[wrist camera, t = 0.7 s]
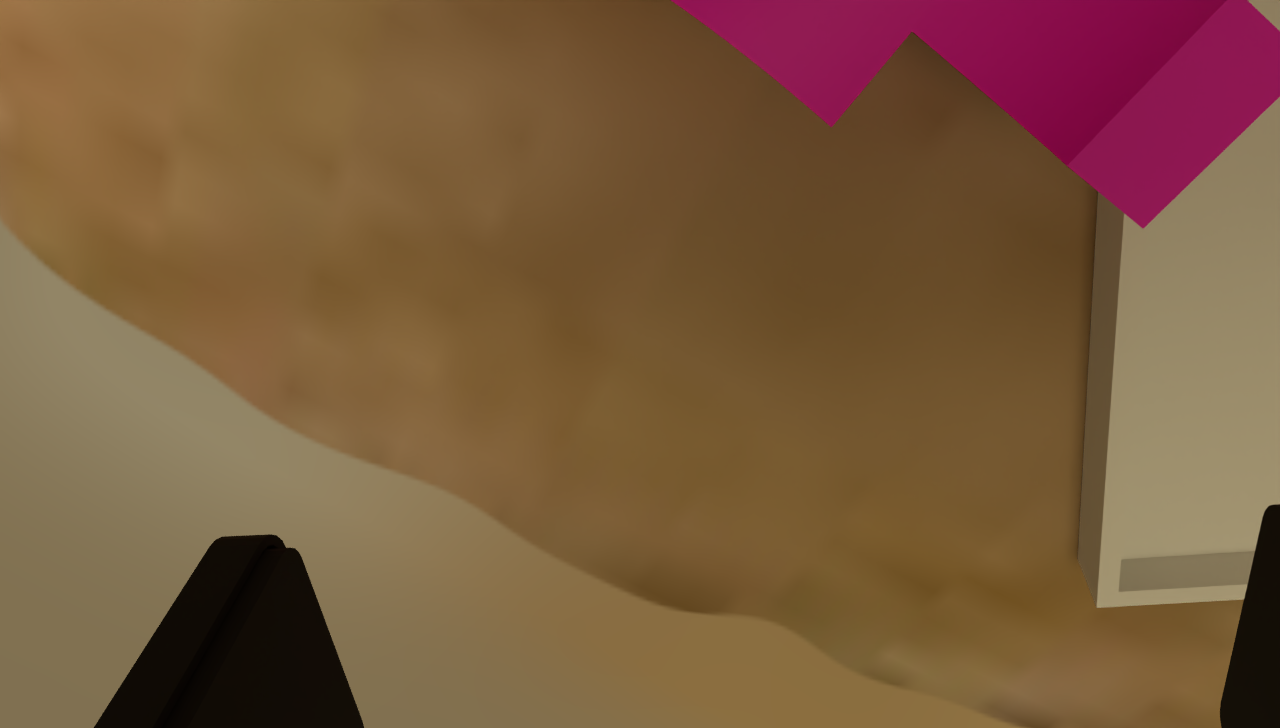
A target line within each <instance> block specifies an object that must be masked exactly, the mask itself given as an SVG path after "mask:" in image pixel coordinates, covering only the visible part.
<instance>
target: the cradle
mask: <svg viewBox="0 0 1280 728" xmlns="http://www.w3.org/2000/svg"><path fill="white" fill-rule="evenodd" d="M1248 1H1249V2H1250V3H1251V4H1252V5H1253V6H1254V7H1255V8H1256V9H1257V10H1258V11H1259V12H1260V13H1261V14H1262V15H1263V16H1264V17H1265V18H1267V19H1268V20H1269V21H1270V22H1271V23H1272V24H1273V25H1274V26H1275V27H1276V28H1277V29H1278V30H1279V31H1280V0H1248ZM1274 504H1280V97H1279V98H1278V99H1277V100H1276V101H1275V102H1274V103H1273V104H1272V105H1271V106H1270V107H1269V108H1267V109H1266V110H1265V111H1264V112H1263V113H1262V114H1261V115H1260V116H1259V117H1258V118H1257V119H1256V120H1255V121H1254V122H1253V123H1252V124H1251V125H1250V126H1249V127H1248V128H1247V129H1246V130H1245V131H1244V132H1243V133H1242V134H1241V135H1240V136H1239V137H1238V138H1237V139H1235V140H1234V141H1233V142H1232V143H1231V144H1230V145H1229V146H1228V147H1227V148H1226V149H1225V150H1224V151H1223V152H1222V153H1221V154H1220V155H1219V156H1218V157H1217V158H1216V159H1215V160H1214V161H1213V162H1212V163H1211V164H1210V165H1209V166H1208V167H1207V168H1206V169H1205V170H1204V171H1202V172H1201V173H1200V174H1199V175H1198V176H1197V177H1196V178H1195V179H1194V180H1193V181H1192V182H1191V183H1190V184H1189V185H1188V186H1187V187H1186V188H1185V189H1184V190H1183V191H1182V192H1181V193H1180V194H1179V195H1178V196H1177V197H1176V198H1175V199H1174V200H1173V201H1172V202H1170V203H1169V204H1168V205H1167V206H1166V207H1165V208H1164V209H1163V210H1162V211H1161V212H1160V213H1159V214H1158V215H1157V216H1156V217H1155V218H1154V219H1153V220H1152V221H1151V222H1150V223H1149V224H1148V225H1147V226H1146V227H1145V228H1144V229H1143V228H1141V227H1140V226H1139V225H1138V224H1137V223H1135V222H1134V221H1133V220H1132V219H1131V218H1129V217H1128V216H1127V215H1126V214H1124V213H1123V212H1122V211H1121V210H1120V209H1118V208H1117V207H1116V206H1115V205H1114V204H1112V203H1111V202H1110V201H1109V200H1108V199H1106V198H1105V197H1104V196H1103V195H1102V194H1100V193H1099V192H1098V201H1097V219H1096V237H1095V255H1094V273H1093V291H1092V308H1091V326H1090V344H1089V362H1088V380H1087V398H1086V416H1085V434H1084V452H1083V470H1082V488H1081V506H1080V524H1079V542H1078V562H1079V564H1080V567H1081V569H1082V572H1083V574H1084V577H1085V579H1086V582H1087V585H1088V587H1089V590H1090V592H1091V595H1092V597H1093V600H1094V602H1095V605H1096V607H1097V608H1100V607H1118V606H1136V605H1153V604H1171V603H1189V602H1206V601H1224V600H1241V599H1244V598H1245V593H1246V589H1247V584H1248V580H1249V575H1250V571H1251V567H1252V562H1253V558H1254V553H1255V549H1256V544H1257V540H1258V535H1259V531H1260V526H1261V522H1262V517H1263V515H1264V512H1265V510H1266V509H1267V507H1268V506H1270V505H1274Z"/></svg>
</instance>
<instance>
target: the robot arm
mask: <svg viewBox="0 0 1280 728" xmlns="http://www.w3.org/2000/svg"><path fill="white" fill-rule="evenodd" d="M1220 720H1221V727H1222V728H1280V504H1274V505H1270V506H1268V507H1267V509H1266V510H1265V512H1264V515H1263V517H1262V522H1261V526H1260V531H1259V535H1258V540H1257V544H1256V549H1255V553H1254V558H1253V562H1252V567H1251V571H1250V575H1249V580H1248V584H1247V589H1246V593H1245V598H1244V602H1243V607H1242V611H1241V616H1240V620H1239V624H1238V629H1237V633H1236V638H1235V642H1234V647H1233V651H1232V656H1231V660H1230V665H1229V669H1228V674H1227V678H1226V682H1225V687H1224V691H1223V696H1222V700H1221V707H1220ZM94 728H364V726H363V722H362V719H361V716H360V713H359V711H358V708H357V705H356V703H355V700H354V697H353V695H352V692H351V689H350V687H349V684H348V681H347V678H346V676H345V673H344V671H343V668H342V665H341V662H340V660H339V657H338V654H337V652H336V649H335V646H334V643H333V641H332V638H331V635H330V633H329V630H328V628H327V625H326V622H325V619H324V616H323V614H322V611H321V609H320V606H319V603H318V600H317V598H316V595H315V592H314V589H313V587H312V584H311V582H310V579H309V576H308V573H307V571H306V568H305V565H304V563H303V560H302V557H301V556H300V554H299V552H298V551H297V550H296V549H295V548H286V547H285V545H284V543H283V541H282V540H281V539H280V538H279V537H278V536H276V535H252V536H251V535H250V536H229V537H221V538H219V539H216V540H215V541H214V542H213V543H212V545H211V546H210V547H209V548H208V550H207V552H206V553H205V555H204V556H203V558H202V559H201V561H200V562H199V564H198V566H197V567H196V569H195V570H194V572H193V573H192V575H191V577H190V578H189V580H188V581H187V583H186V585H185V586H184V587H183V589H182V591H181V592H180V594H179V596H178V597H177V598H176V600H175V602H174V603H173V605H172V606H171V608H170V609H169V611H168V613H167V614H166V616H165V617H164V619H163V620H162V622H161V624H160V625H159V627H158V628H157V630H156V632H155V633H154V634H153V636H152V637H151V639H150V641H149V642H148V644H147V646H146V647H145V648H144V650H143V652H142V653H141V655H140V656H139V658H138V659H137V661H136V663H135V664H134V666H133V667H132V669H131V670H130V672H129V674H128V675H127V677H126V678H125V680H124V681H123V683H122V685H121V686H120V688H119V689H118V691H117V692H116V694H115V695H114V697H113V698H112V700H111V702H110V703H109V705H108V706H107V708H106V709H105V711H104V713H103V714H102V716H101V717H100V719H99V720H98V722H97V724H96V725H95V727H94Z"/></svg>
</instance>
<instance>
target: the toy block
mask: <svg viewBox="0 0 1280 728" xmlns="http://www.w3.org/2000/svg"><path fill="white" fill-rule="evenodd" d="M671 1H673V2H674V3H675V4H677V5H678V6H680V7H681V8H682V9H684V10H685V11H687V12H688V13H689V14H691V15H692V16H694V17H695V18H696V19H698V20H699V21H700V22H702V23H703V24H705V25H706V26H707V27H709V28H710V29H711V30H713V31H714V32H715V33H717V34H718V35H719V36H721V37H722V38H723V39H724V40H726V41H727V42H728V43H730V44H731V45H732V46H734V47H735V48H736V49H737V50H739V51H740V52H741V53H743V54H744V55H745V56H746V57H748V58H749V59H750V60H752V61H753V62H754V63H755V64H757V65H758V66H759V67H760V68H762V69H763V70H764V71H765V72H767V73H768V74H769V75H770V76H771V77H773V78H774V79H775V80H776V81H778V82H779V83H780V84H781V85H782V86H784V87H785V88H786V89H787V90H788V91H790V92H791V93H792V94H793V95H794V96H796V97H797V98H798V99H799V100H800V101H801V102H803V103H804V104H805V105H806V106H807V107H809V108H810V109H811V110H812V111H813V112H814V113H815V114H817V115H818V116H819V117H820V118H821V119H822V120H823V121H825V122H826V123H827V124H828V125H829V126H830V127H832V126H833V125H834V124H835V123H836V121H837V120H838V119H839V118H840V117H841V115H842V114H843V113H844V112H845V111H846V110H847V108H848V107H849V106H850V105H851V104H852V102H853V101H854V100H855V99H856V98H857V96H858V95H859V94H860V93H861V92H862V90H863V89H864V88H865V87H866V86H867V84H868V83H869V82H870V81H871V80H872V78H873V77H874V76H875V75H876V74H877V73H878V71H879V70H880V69H881V68H882V67H883V65H884V64H885V63H886V62H887V61H888V59H889V58H890V57H891V56H892V55H893V53H894V52H895V51H896V50H897V49H898V47H899V46H900V45H901V44H902V43H903V41H904V40H905V39H906V38H907V37H908V36H909V34H910V33H911V32H913V33H915V34H916V35H917V36H918V37H919V38H921V39H922V40H923V41H924V42H925V43H926V44H928V45H929V46H930V47H931V48H932V49H933V50H935V51H936V52H937V53H938V54H939V55H941V56H942V57H943V58H944V59H945V60H946V61H948V62H949V63H950V64H951V65H952V66H953V67H955V68H956V69H957V70H958V71H959V72H960V73H962V74H963V75H964V76H965V77H966V78H967V79H969V80H970V81H971V82H972V83H973V84H974V85H975V86H977V87H978V88H979V89H980V90H981V91H982V92H984V93H985V94H986V95H987V96H988V97H989V98H991V99H992V100H993V101H994V102H995V103H996V104H997V105H999V106H1000V107H1001V108H1002V109H1003V110H1004V111H1006V112H1007V113H1008V114H1009V115H1010V116H1011V117H1012V118H1014V119H1015V120H1016V121H1017V122H1018V123H1019V124H1020V125H1022V126H1023V127H1024V128H1025V129H1026V130H1027V131H1028V132H1030V133H1031V134H1032V135H1033V136H1034V137H1035V138H1036V139H1038V140H1039V141H1040V142H1041V143H1042V144H1043V145H1044V146H1045V147H1047V148H1048V149H1049V150H1050V151H1051V152H1052V153H1053V154H1054V155H1056V156H1057V157H1058V158H1059V159H1060V160H1061V161H1062V162H1063V163H1064V164H1066V165H1067V166H1068V167H1069V168H1070V169H1071V170H1073V171H1074V172H1075V173H1076V174H1077V175H1079V176H1080V177H1081V178H1082V179H1084V180H1085V181H1086V182H1087V183H1088V184H1090V185H1091V186H1092V187H1093V188H1094V189H1096V190H1097V191H1098V192H1099V193H1100V194H1102V195H1103V196H1104V197H1105V198H1106V199H1108V200H1109V201H1110V202H1111V203H1112V204H1114V205H1115V206H1116V207H1117V208H1118V209H1120V210H1121V211H1122V212H1123V213H1124V214H1126V215H1127V216H1128V217H1129V218H1131V219H1132V220H1133V221H1134V222H1135V223H1137V224H1138V225H1139V226H1140V227H1141V228H1143V229H1144V228H1145V227H1146V226H1147V225H1148V224H1149V223H1150V222H1151V221H1152V220H1153V219H1154V218H1155V217H1156V216H1157V215H1158V214H1159V213H1160V212H1161V211H1162V210H1163V209H1164V208H1165V207H1166V206H1167V205H1168V204H1169V203H1170V202H1172V201H1173V200H1174V199H1175V198H1176V197H1177V196H1178V195H1179V194H1180V193H1181V192H1182V191H1183V190H1184V189H1185V188H1186V187H1187V186H1188V185H1189V184H1190V183H1191V182H1192V181H1193V180H1194V179H1195V178H1196V177H1197V176H1198V175H1199V174H1200V173H1201V172H1202V171H1204V170H1205V169H1206V168H1207V167H1208V166H1209V165H1210V164H1211V163H1212V162H1213V161H1214V160H1215V159H1216V158H1217V157H1218V156H1219V155H1220V154H1221V153H1222V152H1223V151H1224V150H1225V149H1226V148H1227V147H1228V146H1229V145H1230V144H1231V143H1232V142H1233V141H1234V140H1235V139H1237V138H1238V137H1239V136H1240V135H1241V134H1242V133H1243V132H1244V131H1245V130H1246V129H1247V128H1248V127H1249V126H1250V125H1251V124H1252V123H1253V122H1254V121H1255V120H1256V119H1257V118H1258V117H1259V116H1260V115H1261V114H1262V113H1263V112H1264V111H1265V110H1266V109H1267V108H1269V107H1270V106H1271V105H1272V104H1273V103H1274V102H1275V101H1276V100H1277V99H1278V98H1279V97H1280V31H1279V30H1278V29H1277V28H1276V27H1275V26H1274V25H1273V24H1272V23H1271V22H1270V21H1269V20H1268V19H1267V18H1265V17H1264V16H1263V15H1262V14H1261V13H1260V12H1259V11H1258V10H1257V9H1256V8H1255V7H1254V6H1253V5H1252V4H1251V3H1250V2H1249V1H1248V0H671Z"/></svg>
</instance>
